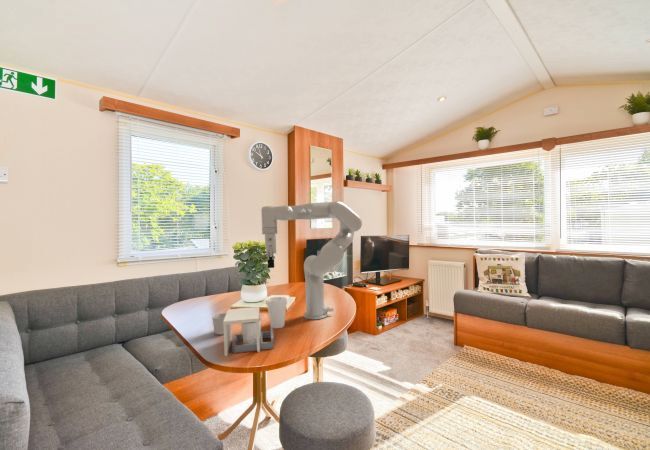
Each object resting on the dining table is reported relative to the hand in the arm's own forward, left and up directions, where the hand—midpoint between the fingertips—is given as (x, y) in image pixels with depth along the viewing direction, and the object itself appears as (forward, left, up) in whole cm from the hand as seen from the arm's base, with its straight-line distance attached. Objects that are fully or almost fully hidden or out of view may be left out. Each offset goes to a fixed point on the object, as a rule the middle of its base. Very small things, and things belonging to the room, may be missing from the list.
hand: (271, 267), depth 152 cm
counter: (+12, +27, -27) cm, 40 cm away
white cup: (+9, +27, -27) cm, 39 cm away
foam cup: (-2, +8, -27) cm, 29 cm away
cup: (+23, +8, -27) cm, 37 cm away
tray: (+8, +27, -27) cm, 39 cm away
